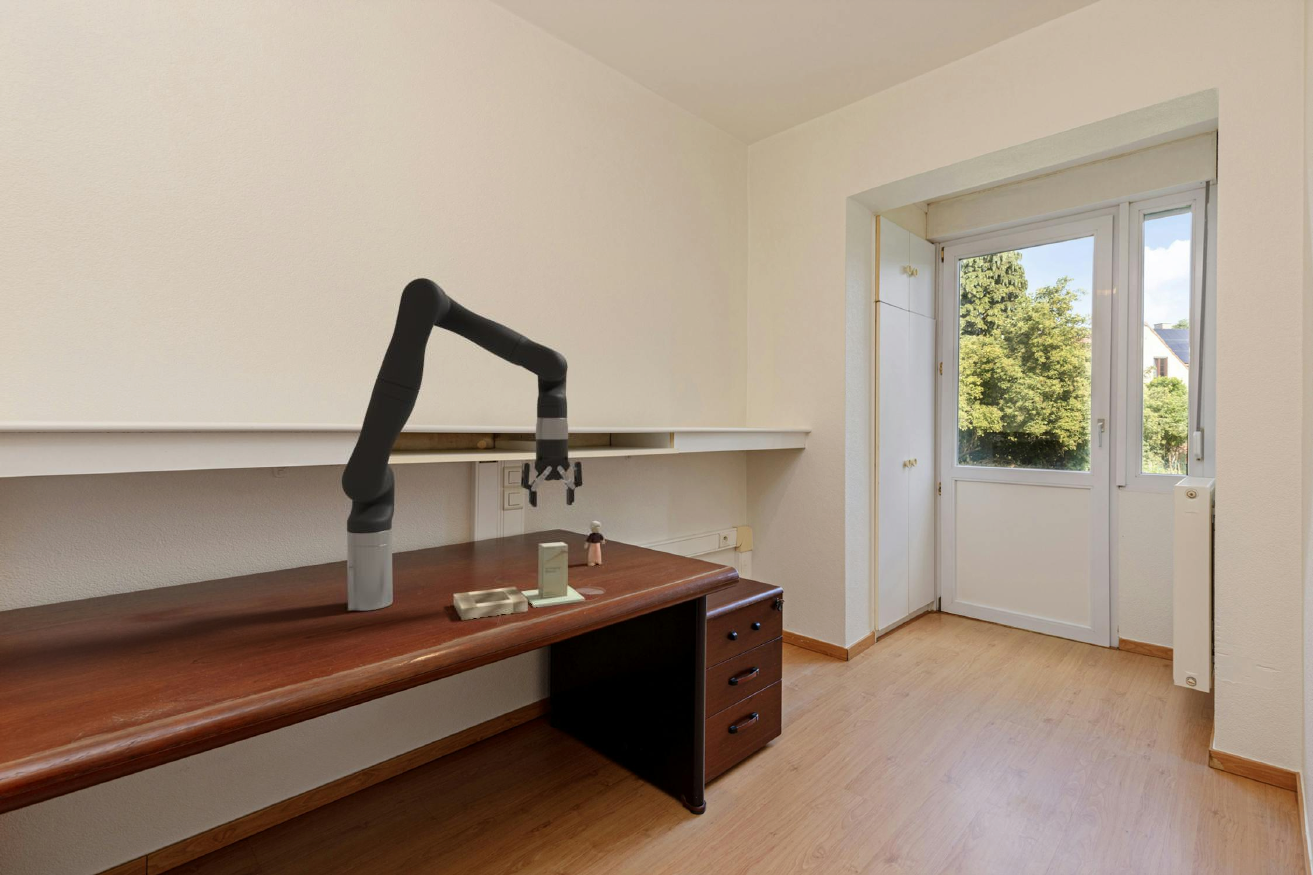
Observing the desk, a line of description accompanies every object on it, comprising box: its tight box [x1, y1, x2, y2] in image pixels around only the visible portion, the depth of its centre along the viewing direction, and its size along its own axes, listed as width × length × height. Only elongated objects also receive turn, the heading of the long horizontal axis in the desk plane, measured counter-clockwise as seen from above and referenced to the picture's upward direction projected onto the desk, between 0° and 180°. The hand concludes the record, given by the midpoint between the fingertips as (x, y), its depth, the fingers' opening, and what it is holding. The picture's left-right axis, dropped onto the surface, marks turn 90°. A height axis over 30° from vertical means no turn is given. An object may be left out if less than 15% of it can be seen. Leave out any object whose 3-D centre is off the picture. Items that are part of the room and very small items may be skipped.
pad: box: [520, 585, 586, 609], centre depth 148 cm, size 12×12×1 cm
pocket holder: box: [453, 586, 529, 621], centre depth 140 cm, size 14×12×2 cm
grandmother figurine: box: [583, 520, 606, 567], centre depth 181 cm, size 8×4×13 cm, turn 148°
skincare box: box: [537, 541, 569, 598], centre depth 148 cm, size 6×4×12 cm
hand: (552, 505), depth 147 cm, fingers open, 8 cm apart
